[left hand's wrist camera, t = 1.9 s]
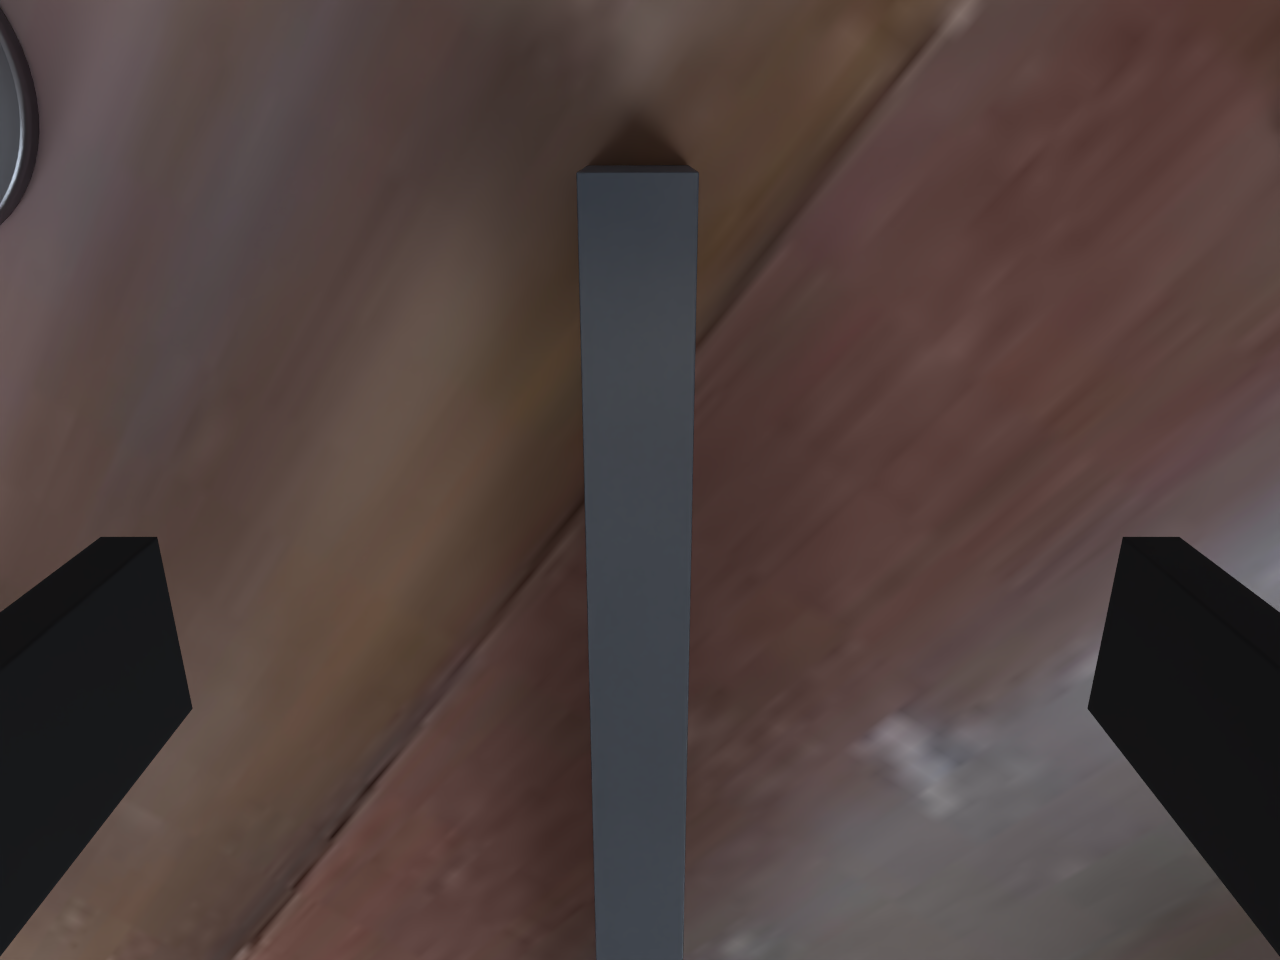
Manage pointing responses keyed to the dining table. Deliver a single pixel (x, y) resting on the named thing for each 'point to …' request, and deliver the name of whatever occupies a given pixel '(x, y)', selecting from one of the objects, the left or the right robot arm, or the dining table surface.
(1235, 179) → the dining table surface
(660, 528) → the post
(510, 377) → the dining table surface
